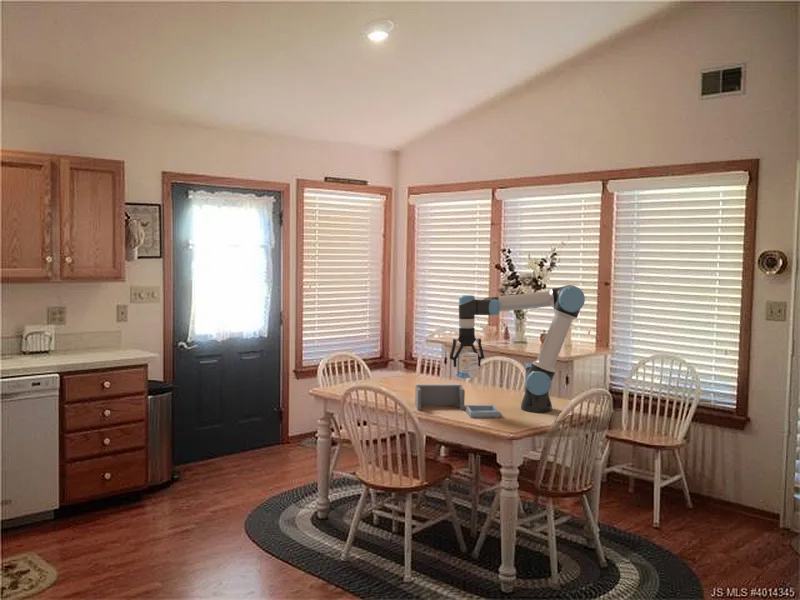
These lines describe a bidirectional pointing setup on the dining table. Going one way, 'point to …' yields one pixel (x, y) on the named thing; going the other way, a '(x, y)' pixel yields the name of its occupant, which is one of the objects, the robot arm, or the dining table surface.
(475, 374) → the ink box
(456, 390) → the bay
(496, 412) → the tray
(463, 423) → the dining table surface
